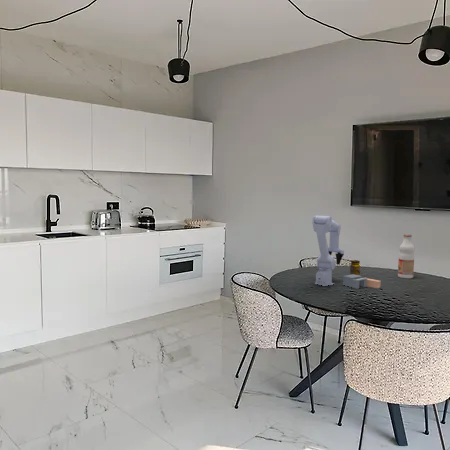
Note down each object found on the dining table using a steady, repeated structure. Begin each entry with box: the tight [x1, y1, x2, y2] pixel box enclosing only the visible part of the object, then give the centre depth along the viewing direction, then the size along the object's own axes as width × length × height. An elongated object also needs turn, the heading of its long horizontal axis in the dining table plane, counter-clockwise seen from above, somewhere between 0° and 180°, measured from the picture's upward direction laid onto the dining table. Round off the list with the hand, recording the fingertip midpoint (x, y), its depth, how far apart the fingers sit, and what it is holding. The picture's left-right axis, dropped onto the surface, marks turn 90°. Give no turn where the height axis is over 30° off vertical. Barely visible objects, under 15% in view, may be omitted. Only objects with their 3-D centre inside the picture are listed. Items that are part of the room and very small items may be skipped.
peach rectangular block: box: [366, 277, 382, 289], centre depth 265 cm, size 9×3×4 cm, turn 44°
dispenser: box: [342, 274, 368, 290], centre depth 265 cm, size 10×9×6 cm
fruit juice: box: [397, 233, 415, 279], centre depth 291 cm, size 9×9×28 cm
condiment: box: [349, 259, 361, 276], centre depth 284 cm, size 7×8×12 cm
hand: (333, 263), depth 281 cm, fingers open, 7 cm apart
